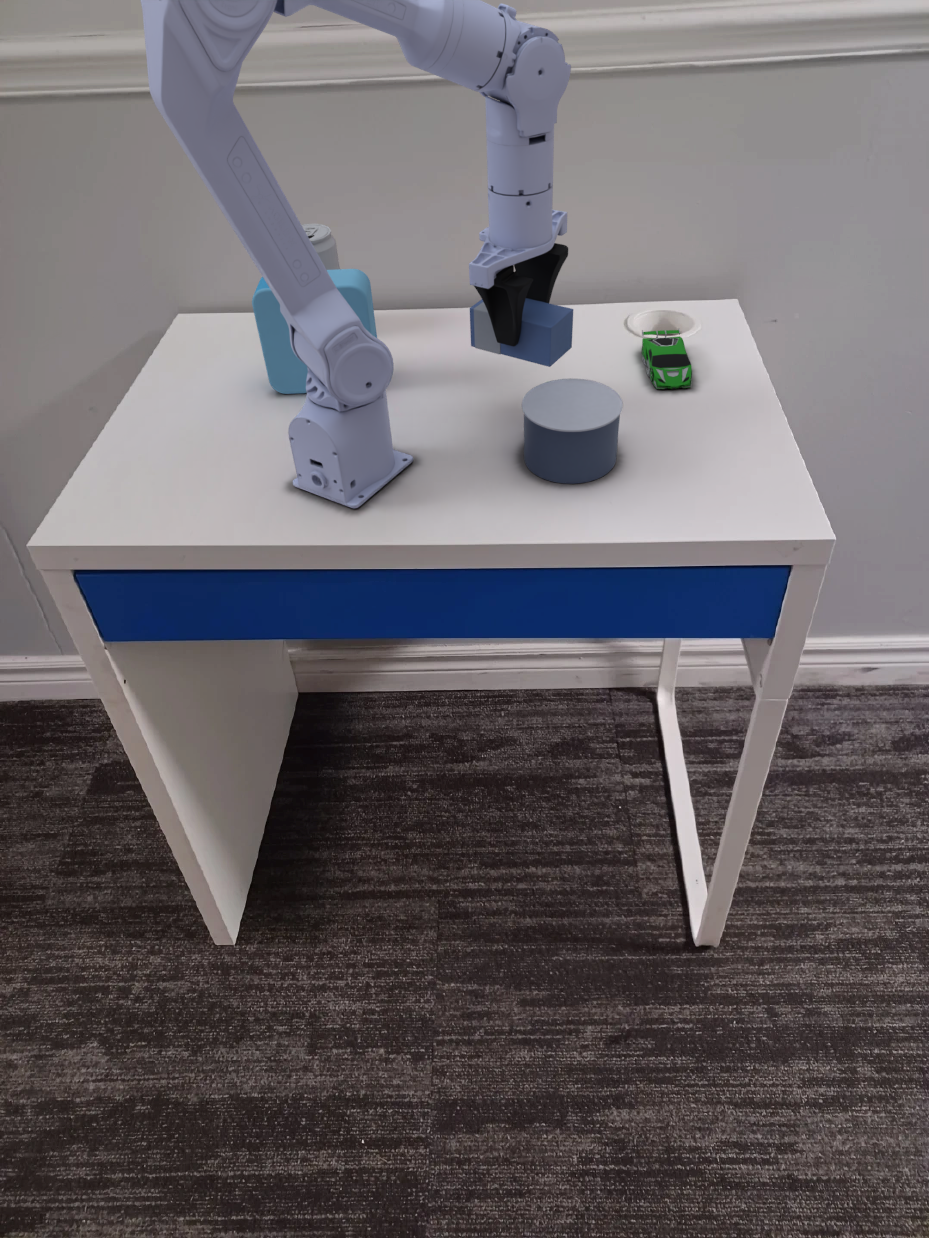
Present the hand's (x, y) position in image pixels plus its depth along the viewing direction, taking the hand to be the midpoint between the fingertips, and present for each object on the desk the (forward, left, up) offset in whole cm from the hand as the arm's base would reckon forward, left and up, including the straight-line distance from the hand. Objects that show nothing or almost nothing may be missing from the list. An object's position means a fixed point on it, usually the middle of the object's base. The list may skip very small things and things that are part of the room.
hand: (520, 332), depth 87 cm
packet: (0, 0, -2) cm, 2 cm away
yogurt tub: (-5, -8, -9) cm, 13 cm away
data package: (-5, +23, -9) cm, 25 cm away
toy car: (+16, -9, -9) cm, 21 cm away
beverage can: (+5, +32, -9) cm, 34 cm away
